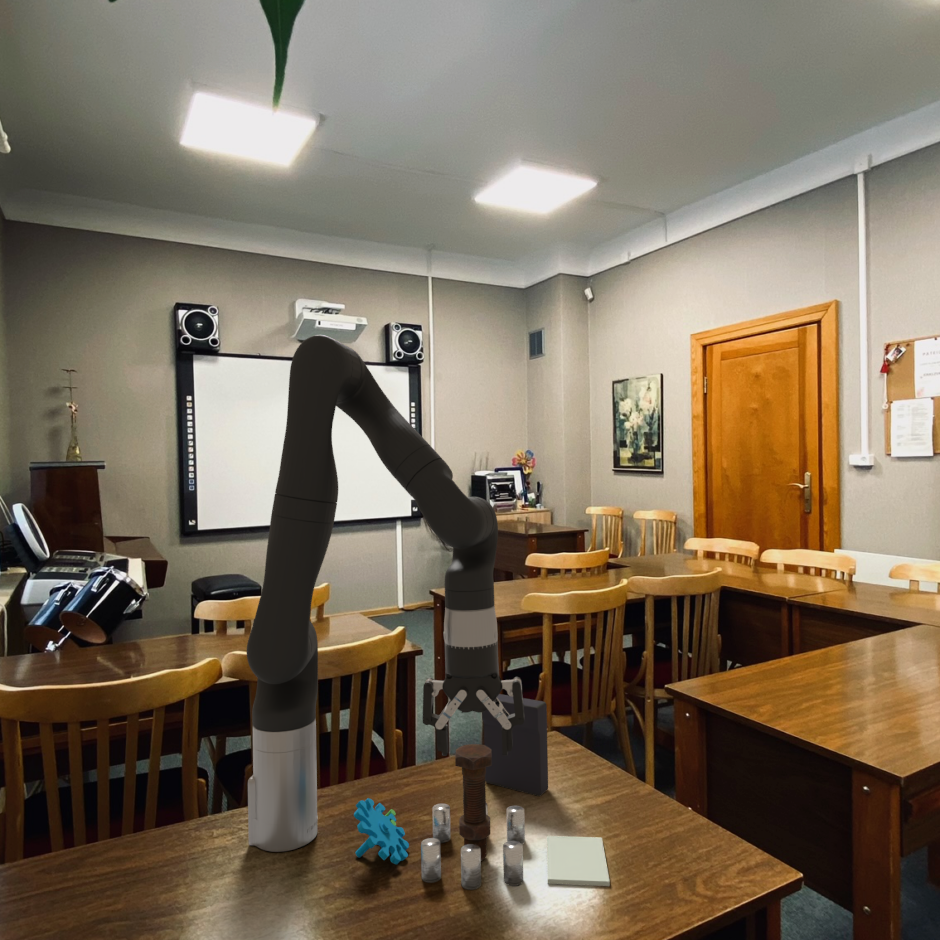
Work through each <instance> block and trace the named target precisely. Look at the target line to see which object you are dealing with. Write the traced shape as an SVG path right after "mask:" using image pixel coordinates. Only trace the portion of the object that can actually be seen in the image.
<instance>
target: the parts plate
mask: <svg viewBox="0 0 940 940" xmlns="http://www.w3.org/2000/svg"><path fill="white" fill-rule="evenodd" d="M546 858H547V859H546V861H547V862H546V865H547V866H546V867H547V868H546V869H547V871H546V872H547V884H548V885H549V884H550V885H570V886H571V885H572V886H573V885H574V886H595V887H596V886H599V887H611V885H610V883H611V882H610V876H609V869H608V866H607V860H606V854H605V849H604V842H603V837H596V836H594V837H593V836H592V837H591V836H570V835H568V836H567V835H566V836H565V835H564V836H563V835H559V836H558V835H546Z"/></svg>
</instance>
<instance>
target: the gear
mask: <svg viewBox="0 0 940 940" xmlns="http://www.w3.org/2000/svg"><path fill="white" fill-rule="evenodd" d="M374 805H375V802H374V800H373V799H372V798H369V797H368V798H366V799H365V800H364V799H362V800H358V802H357V803H356V804H355V807H356V808H357V809H356V810H355V811H354V813H353V817H354V818H355V819H356V820H357V821H359V823H358V824H357V825H356V826H357V830H358V833H360V834H366V835H368V838H367V839H366V840H365V841H364V842H363V843H362V844H361V845H360V847H359V848H358V849H357V850H356V851H355V855H356V857H357V858H361V857H362V856H363V855H365V853H366V852H368V851H369V849H373V848H374V847H376V846H379V847H380V850H379V851H378V852H377V853H378V856H379V858H381V859H382V860H383V861H385V860H386V859H387V858H388V857H389V860H390V862H391V863H392V864H394V865H398V864H399V863H400V862H403V861H405V859H407V857H408V856H409V854H408V852H407V850H408V849H409V847H410V844H409V842H408V841H407V840H405V839H404V838H403V837H404V836H405V835H406V832H405V830H404V828H403V827H401V826H397V823H396V822H397V818H396V814H397V813H396V811H395V810H394V809H392V808H391V809H390V810H389V811H388V812H387V813H386V814H385V815H384V814H383V813H384V812H385V810H386V807H385V805H383V804H382V803H381V802H379V803H378V804H377V805H376V806H375V807H374ZM390 855H391V856H390Z"/></svg>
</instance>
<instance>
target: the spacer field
mask: <svg viewBox="0 0 940 940" xmlns="http://www.w3.org/2000/svg"><path fill="white" fill-rule="evenodd" d="M488 808H489V807H488V803H487V802H486V814H487V815H488V816H489V813H488V811H489V810H488ZM525 826H526V825H525V808H524V807H523V806H520V805H510V806H508V807H506V841H505V842H504V843H503V844H502V855H503V856H502V858H503V859H502V860H503V866H502V867H503V868H502V869H503V882H504V884H506V885H507V886H511V887H517V886H520V885H522V884H523V883H524V857H523V856H524V851H523V850H524V849H523V848H524V846H523V844H525V842H526V837H525V835H526V834H525V833H526V832H525V831H526V830H525ZM450 840H451V807H450V805H449V804H447V803H437V804H434V805H433V806H432V837H430V838H429V837H428V838H425V839H423V840H422V841H421V842H420V855H421V856H420V857H421V858H420V859H421V861H420V863H421V880H422V881H423V882H425V883H428V884H429V883H430V884H432V883H437V882H438V881H440V880H441V879H442V867H441V866H442V862H441V861H442V858H441V856H442V855H441V852H442V851H441V844H443V843H446V842H449V841H450ZM481 863H482V862H481V849H480V847H479V846H478V845H475V844H467V845H464V844H463V846H461V848H460V876H461V877H460V878H461V879H460V880H461V881H460V882H461V886H462V888H463V889H465V890H469V891H470V890H471V891H473V890H477V889H479V888H480V887H481V886H482V865H481Z"/></svg>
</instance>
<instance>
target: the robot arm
mask: <svg viewBox="0 0 940 940" xmlns="http://www.w3.org/2000/svg"><path fill="white" fill-rule="evenodd" d="M289 368H290V369H289V380H288V396H287V415H286V426H285V433H284V438H283V444H282V451H281V458H280V465H279V471H278V477H277V483H276V487H275V491H274V492H275V494H274V498H273V503H272V509H271V510H272V511H271V514H270V515H271V516H270V523H269V530H268V538H267V539H268V540H267V547H266V556H265V565H264V566H265V568H264V576H263V577H264V578H263V584H262V589H261V593H260V597H259V600H258V605H257V608H256V612H255V616H254V619H253V623H252V627H251V630H250V632H249V633H250V634H249V636H248V640H247V645H246V658H247V659H246V660H247V662H248V667H249V668H250V670H251V672H252V673H253V674H254V676H255V677H256V678H257V683H256V692H255V697H254V701H253V704H252V712H251V713H252V714H251V715H252V718H251V719H252V722H251V723H252V760H253V761H252V766H253V767H252V771H253V773H252V775H251V776H250V777H249V778H248V780H247V815H248V816H247V817H248V818H247V819H248V820H247V822H248V824H247V826H248V831H247V832H248V846H255V847H257V848H259V849H260V850H263V851H266V852H276V853H277V852H278V853H279V852H288V851H292V850H296V849H298V848H301V847H304V846H306V845H307V844H309V843H310V842H312V841H313V840H314V839H315V838H316V837H317V834H318V822H319V821H318V820H319V819H318V786H317V784H318V783H317V782H318V781H317V780H318V778H317V777H318V776H317V774H318V772H317V771H318V770H317V769H318V768H317V725H316V724H317V721H316V714H317V713H316V710H317V709H316V708H317V707H316V706H317V701H318V700H317V699H318V692H319V691H318V689H319V684H318V683H319V682H318V681H319V647H318V646H319V644H318V643H319V641H318V635H317V631H316V629H315V627H314V624H313V623H312V621H310V619H311V611H312V610H311V609H312V603H313V602H312V601H313V594H314V590H315V586H316V582H317V579H318V577H319V573H320V570H321V569H322V566H323V563H324V559H325V557H326V554H327V550H328V548H329V544H330V539H331V537H332V533H333V529H334V523H335V517H336V510H337V506H338V499H339V498H338V497H339V480H338V479H339V478H338V477H339V476H338V472H337V464H336V460H335V459H336V458H335V454H334V449H333V438H332V437H333V433H332V432H333V424H334V417H335V413H336V408H338V409H339V410H341V411H342V412H344V414H346V415H347V416H348V417H349V418H350V419H352V420H353V422H355V424H357V425H358V426H359V428H360V429H361V430H362V431H363V434H364V435H366V437H367V438H368V440H369V442H370V443H371V445H372V447H373V449H374V451H375V453H376V454H377V456H378V458H379V459H380V462H382V464H383V465H384V467H386V470H388V472H389V473H390V475H391V476H392V477H393V478H395V480H396V481H397V482H398V483H399V485H401V487H402V488H403V489H404V491H406V493H407V494H408V495H410V497H412V498H413V500H414V501H415V503H416V505H417V507H418V509H419V511H420V513H421V514H422V516H423V518H424V519H425V521H426V522H427V523H426V524H427V525H429V527H430V528H431V530H432V532H433V533H434V534H435V535H436V537H438V538H439V539H440V540H441V541H442V542H443V543H444V544H446V545H447V546H449V547H451V548H452V559H451V564H450V565H449V566H448V568H447V569H446V570H445V574H444V606H445V608H444V609H445V610H444V620H443V621H444V622H443V640H444V660H445V661H444V663H445V666H444V667H445V677H444V680H437V679H434V678H433V677H428V678H426V680H425V682H424V683H423V690H422V691H423V693H422V724H423V725H425V726H432V727H434V728H435V730H436V732H435V733H436V749H437V751H438V752H441V756H443V757H445V756H446V757H447V756H448V754H449V730H448V728H449V726H448V724H447V723H448V721H449V720H450V719H451V718H452V717H453V715H454V714H455V712H456V711H457V710H458V711H460V712H461V713H463V714H464V713H466V714H467V713H470V712H475V713H481V714H482V713H484V711H486V710H489V711H490V713H491V714H492V715H493V716H494V718H496V719H497V720H498V721H499V723H500V724H501V725H502V754H503V756H508V751H511V750H512V745H513V740H512V728H513V727H514V726H515V725H522V724H523V723H524V705H523V698H524V697H523V695H524V694H523V684H522V679H521V677H519V676H515V677H513V678H512V679H505V680H503V679H502V678H501V676H500V669H499V665H500V664H499V641H498V640H499V639H498V637H499V634H498V633H499V632H498V622H497V621H498V620H497V619H498V618H497V613H496V606H495V605H496V604H495V583H494V569H495V565H496V564H495V563H496V556H497V549H498V547H497V546H498V540H499V539H498V537H499V525H498V517H497V513H496V511H495V508H493V506H492V504H491V503H490V502H489V501H488V500H486V499H484V498H482V497H479V496H467V495H465V494H464V492H463V491H462V490H461V489H460V487H459V486H458V485H457V484H456V482H455V481H454V480H453V478H454V477H453V472H452V469H451V468H450V466H449V465H448V463H447V462H446V461H445V460H444V459H443V457H442V456H440V454H439V453H438V452H437V451H436V449H434V448H433V447H432V446H431V445H430V443H428V441H426V439H425V438H424V437H423V436H422V435H421V434H420V433H419V432H418V431H417V430H416V429H415V427H413V426H412V425H411V423H409V421H408V420H407V419H406V418H405V417H404V416H403V415H402V414H401V412H399V410H398V409H397V408H396V407H395V406H394V405H393V403H392V402H391V401H390V399H389V398H388V397H387V395H386V394H385V393H384V391H383V389H381V387H380V385H379V383H378V382H377V380H376V379H375V377H374V376H373V374H372V372H371V371H370V370H369V368H368V365H366V363H365V362H364V359H362V357H361V356H360V354H359V353H358V352H356V350H354V349H353V348H351V347H350V346H348V345H345V344H344V343H342V342H340V341H338V340H337V339H334V338H332V337H330V336H327V335H324V334H315V335H311V336H309V337H307V338H305V339H304V340H303V341H302V342H301V343H300V344H299V345H298V347H297V348H296V350H295V351H294V354H293V356H292V360H291V363H290V367H289ZM441 690H443V693H444V694H445V695H446V696H447V698H448V699H449V701H448V702H447V704H446V705H445V707H444V708H443V710H442V711H441V713H440V714H436V713H434V711H435V710H434V708H435V707H434V706H435V703H434V702H435V697H437V696H438V695H439V692H440V691H441ZM503 690H505V691H506V693H507V695H508V696H513V700H514V710H515V713H514V714H511V715H509V713H508V712H507V711H506V710H505V708H504V707H503V705H502V703H501V702H500V701H499V699H498V698H497V696H498V695H499V694H501V692H502V691H503ZM494 701H495V702H494Z"/></svg>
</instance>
